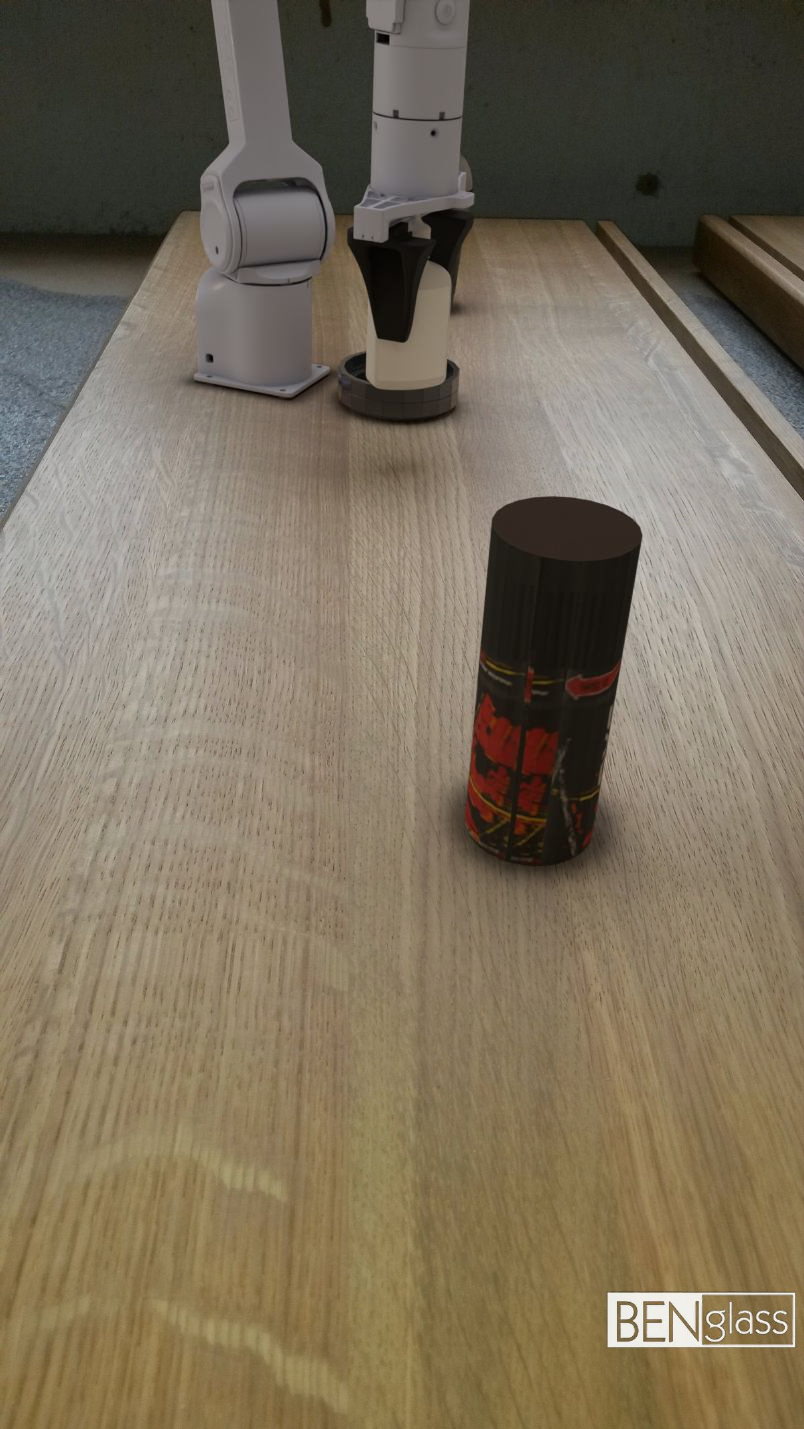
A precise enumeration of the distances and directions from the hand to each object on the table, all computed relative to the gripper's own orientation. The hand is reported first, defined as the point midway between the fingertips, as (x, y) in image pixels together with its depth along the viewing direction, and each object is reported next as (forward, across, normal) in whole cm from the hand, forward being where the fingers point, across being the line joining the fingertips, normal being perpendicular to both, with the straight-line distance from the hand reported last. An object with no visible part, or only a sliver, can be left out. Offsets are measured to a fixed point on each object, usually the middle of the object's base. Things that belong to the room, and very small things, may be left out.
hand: (407, 329), depth 85 cm
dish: (+10, +13, +6) cm, 18 cm away
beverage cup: (+11, +41, +14) cm, 45 cm away
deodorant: (+10, -36, -22) cm, 43 cm away
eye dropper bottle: (+4, 0, 0) cm, 4 cm away
